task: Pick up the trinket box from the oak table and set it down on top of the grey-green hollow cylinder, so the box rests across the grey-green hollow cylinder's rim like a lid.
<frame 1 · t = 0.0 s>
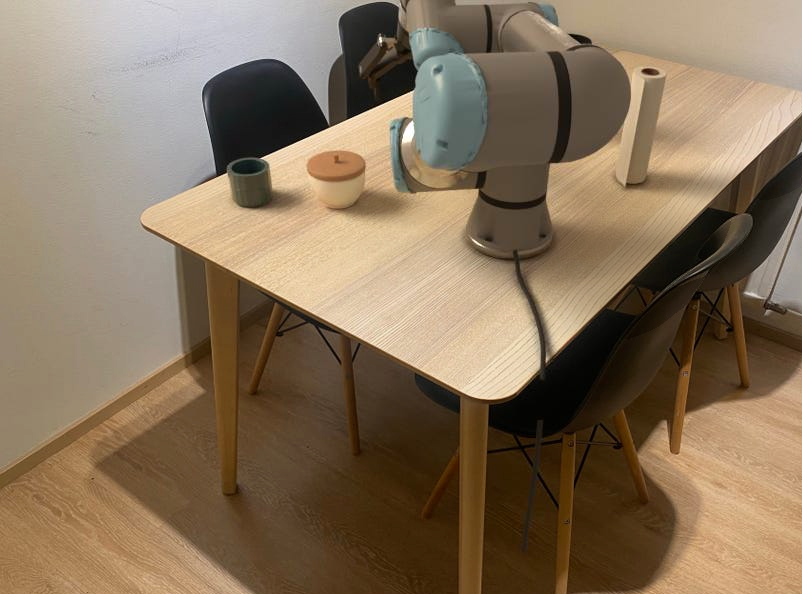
hand: (412, 93, 146), 15 cm above the table, tool tilted 35°, fingers open, 13 cm apart
paper towel roll: (627, 179, 155), on the table
grey-green hollow cylinder: (253, 198, 145), on the table
trinket box: (339, 201, 145), on the table
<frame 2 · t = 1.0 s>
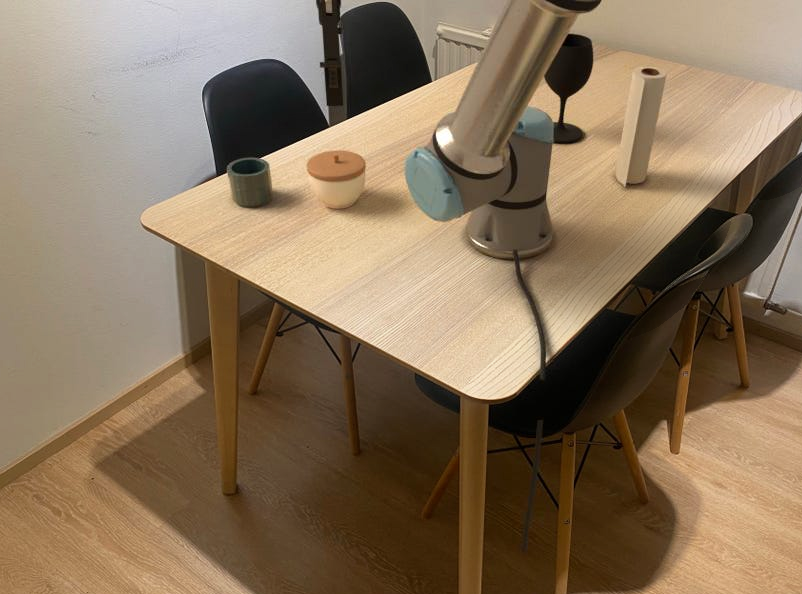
hand: (334, 89, 132), 21 cm above the table, tool pointing down, fingers open, 13 cm apart
nothing on the table moved.
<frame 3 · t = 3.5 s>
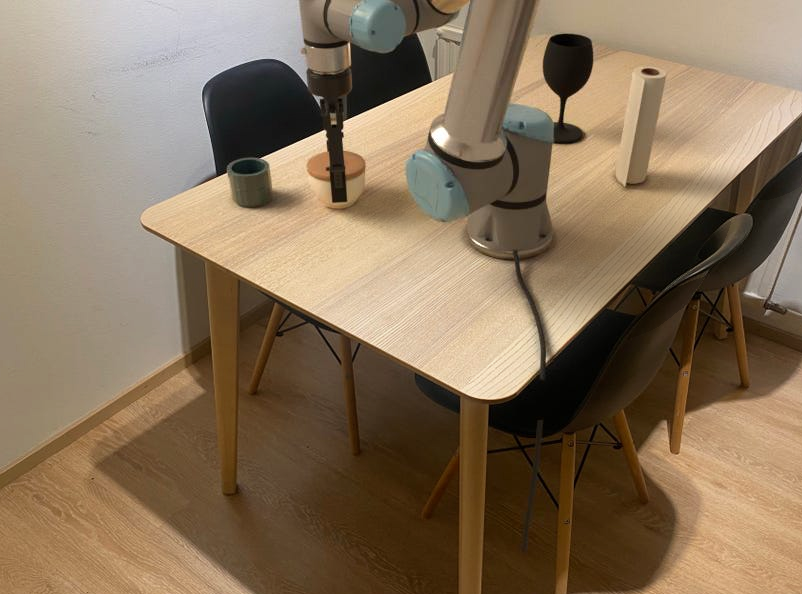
hand: (337, 186, 143), 3 cm above the table, tool pointing down, fingers closed on trinket box, 11 cm apart
trinket box: (339, 201, 145), on the table, touching gripper
everything else where it was.
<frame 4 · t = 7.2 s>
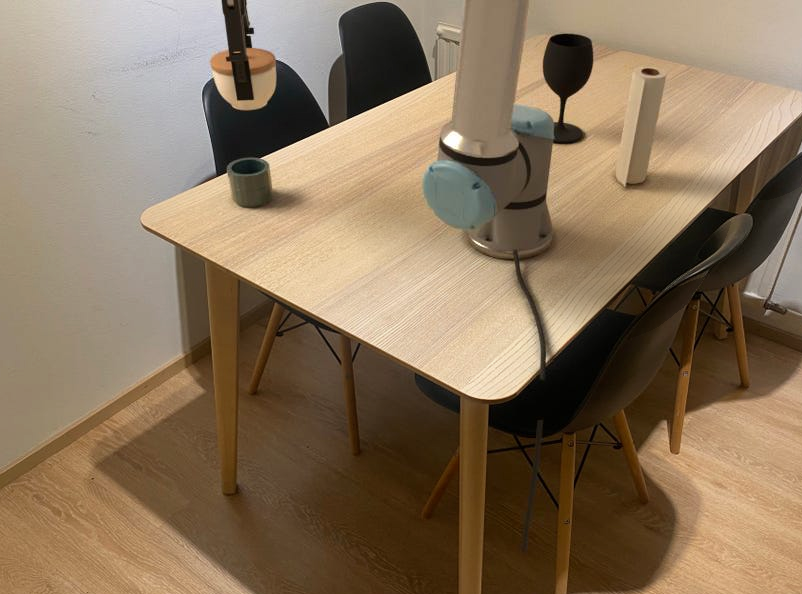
hand: (246, 86, 131), 21 cm above the table, tool pointing down, fingers closed on trinket box, 11 cm apart
trinket box: (249, 104, 133), point 18 cm above the table, touching gripper
everything else where it was.
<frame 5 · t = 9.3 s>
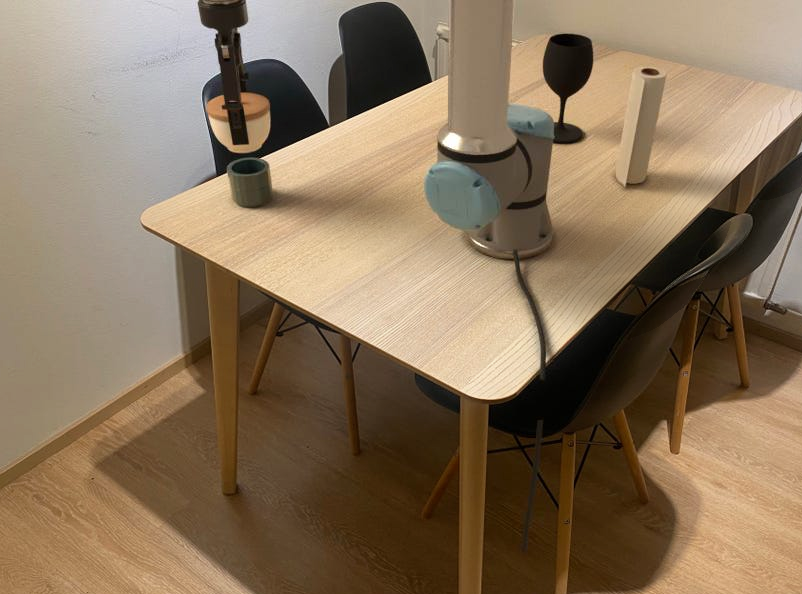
hand: (242, 130, 136), 13 cm above the table, tool pointing down, fingers closed on trinket box, 11 cm apart
trinket box: (244, 146, 138), point 10 cm above the table, touching gripper
everything else where it was.
when the fingers open (9 cm above the table, at t = 11.1 s): trinket box stays where it is, resting on grey-green hollow cylinder.
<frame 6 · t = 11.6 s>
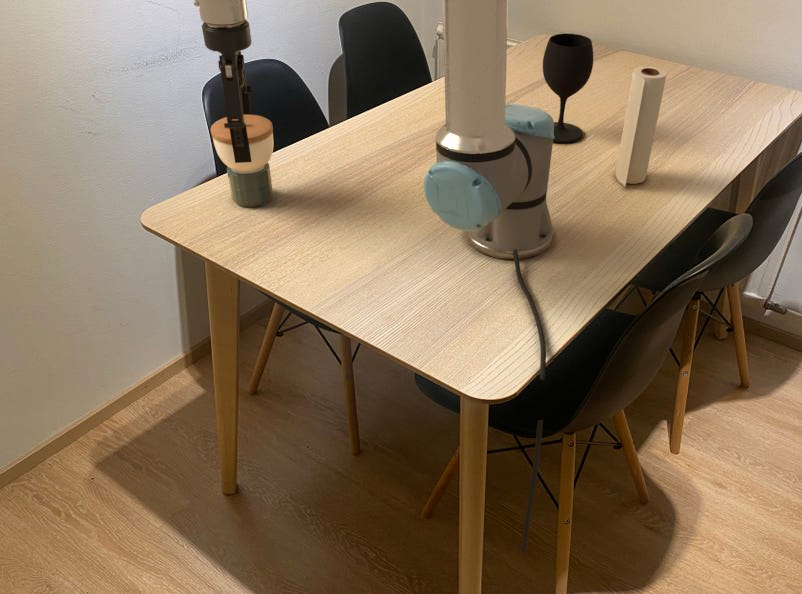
hand: (244, 145, 138), 11 cm above the table, tool pointing down, fingers open, 13 cm apart
trinket box: (248, 167, 141), point 6 cm above the table, touching grey-green hollow cylinder
everything else where it was.
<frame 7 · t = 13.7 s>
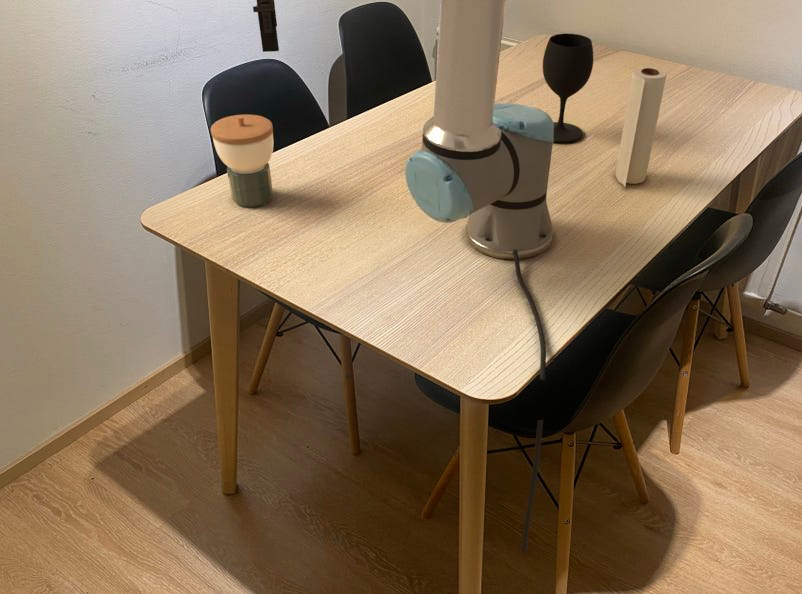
hand: (270, 38, 136), 26 cm above the table, tool pointing down, fingers open, 13 cm apart
nothing on the table moved.
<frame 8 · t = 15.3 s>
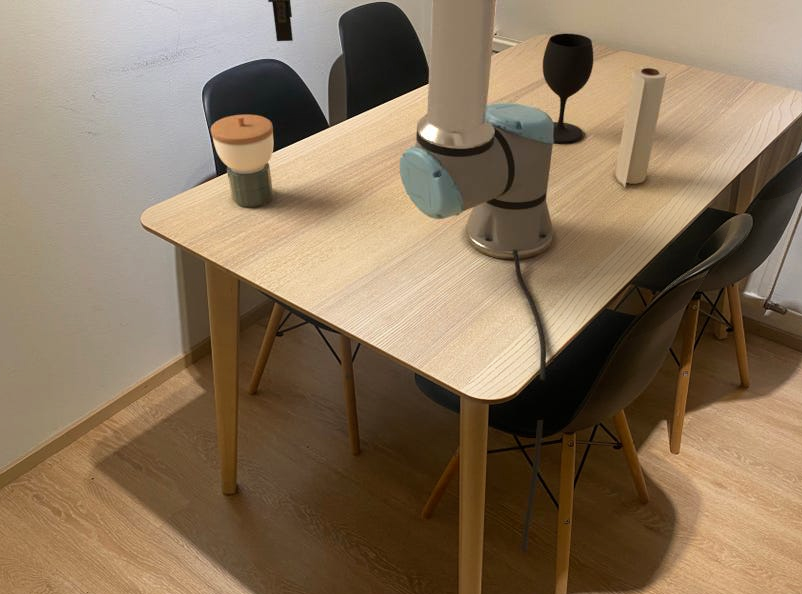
hand: (284, 28, 139), 27 cm above the table, tool pointing down, fingers open, 13 cm apart
nothing on the table moved.
at the end: trinket box 0.0 cm off-centre on the grey-green hollow cylinder, point 6.3 cm above the grey-green hollow cylinder's base; trinket box tilted 0°; trinket box touching grey-green hollow cylinder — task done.
